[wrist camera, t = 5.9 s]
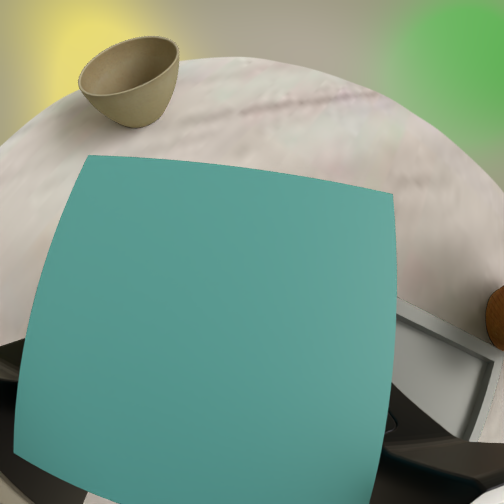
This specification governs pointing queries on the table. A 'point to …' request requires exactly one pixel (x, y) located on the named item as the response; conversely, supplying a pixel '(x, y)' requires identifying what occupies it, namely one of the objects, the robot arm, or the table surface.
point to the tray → (445, 370)
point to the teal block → (212, 337)
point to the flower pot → (132, 80)
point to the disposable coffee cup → (496, 318)
